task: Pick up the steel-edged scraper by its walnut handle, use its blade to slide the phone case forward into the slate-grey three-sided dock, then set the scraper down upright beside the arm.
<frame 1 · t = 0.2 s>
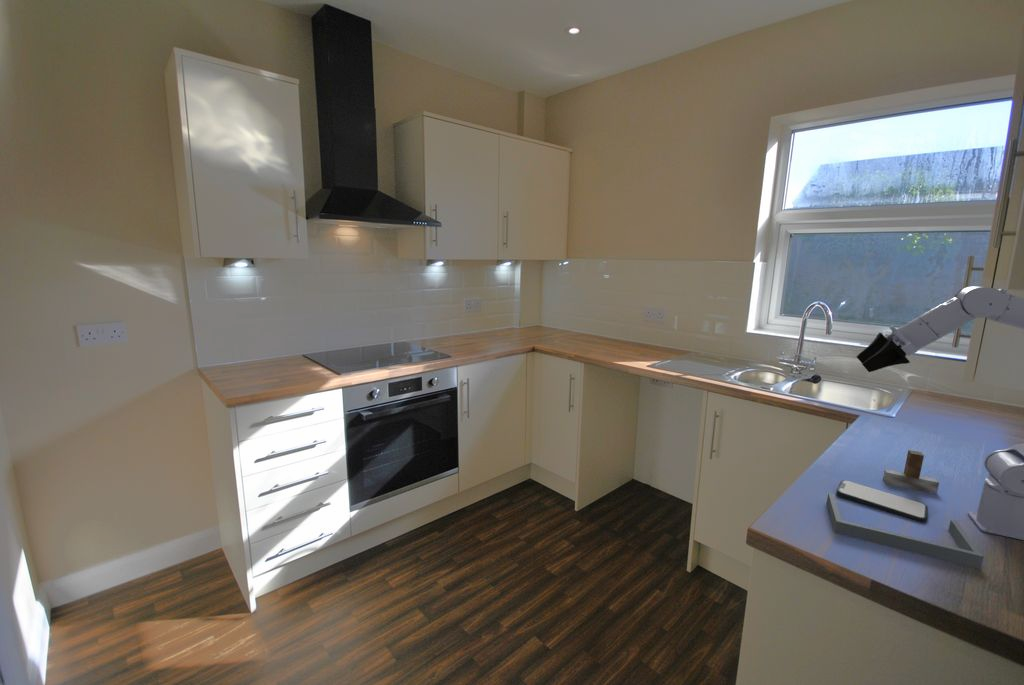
hand: (862, 364, 105), 31 cm above the worktop, tool tilted 45°, fingers open, 7 cm apart
dock: (894, 532, 95), on the worktop
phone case: (879, 504, 107), on the worktop
scraper: (908, 487, 114), on the worktop
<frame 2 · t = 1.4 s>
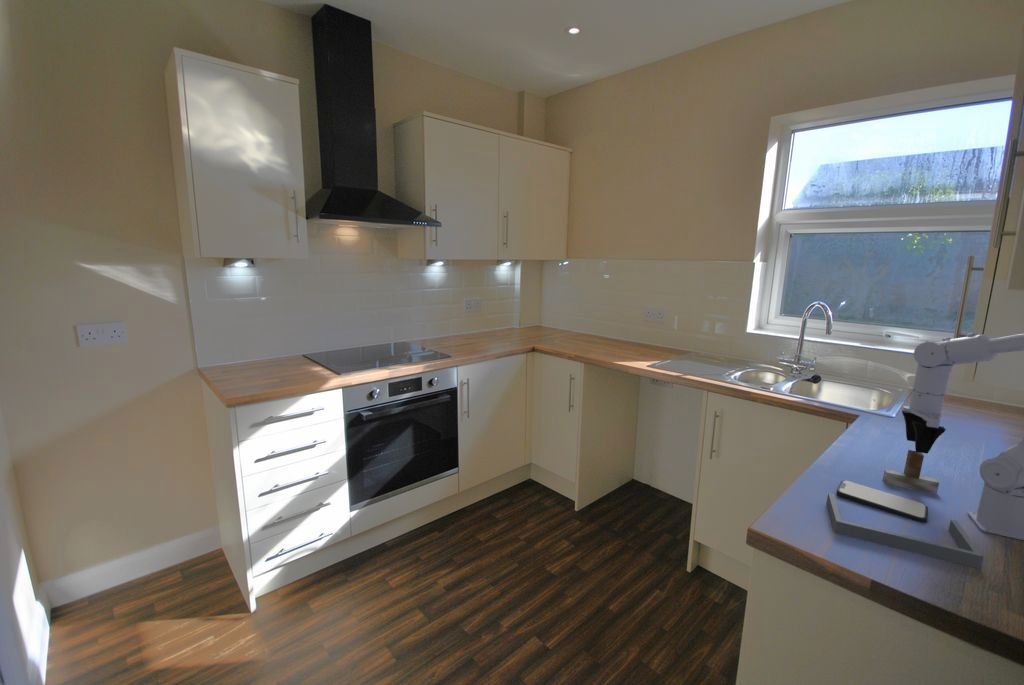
hand: (916, 446, 112), 10 cm above the worktop, tool pointing down, fingers open, 7 cm apart
nothing on the worktop moved.
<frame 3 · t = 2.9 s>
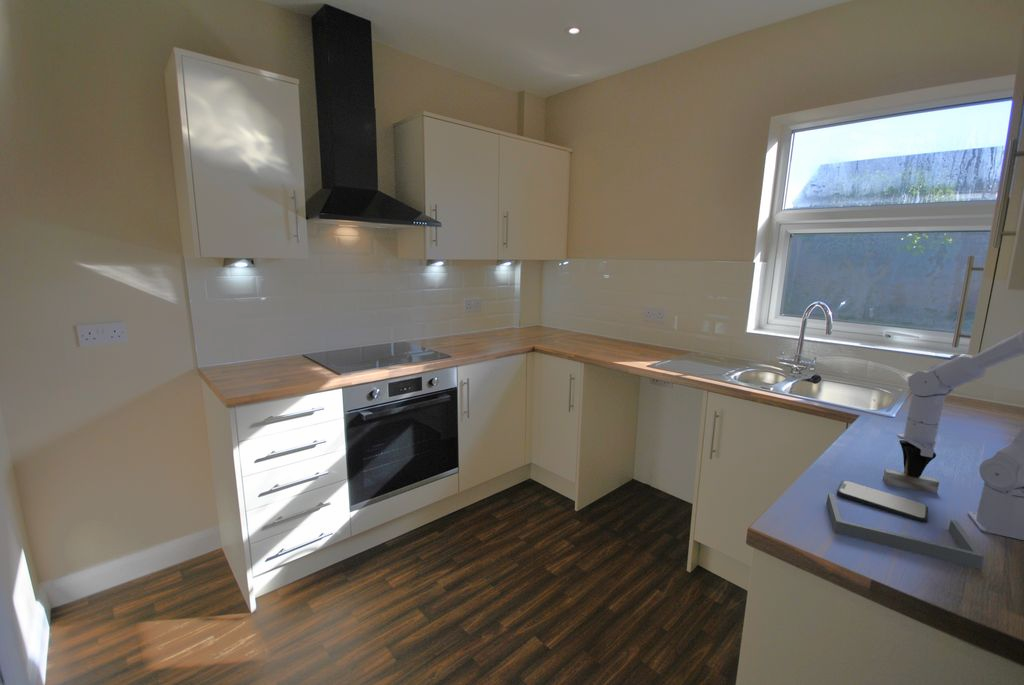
hand: (911, 473, 114), 3 cm above the worktop, tool pointing down, fingers closed on scraper, 2 cm apart
scraper: (908, 486, 114), on the worktop, touching gripper
everything else where it was.
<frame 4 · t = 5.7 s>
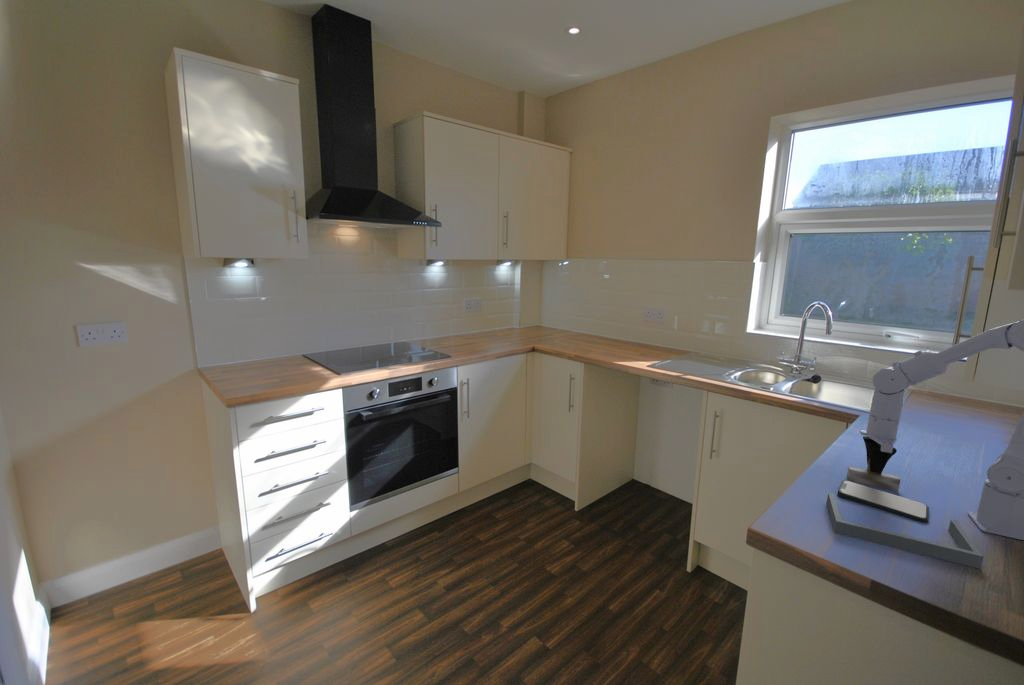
hand: (874, 469, 114), 4 cm above the worktop, tool pointing down, fingers closed on scraper, 2 cm apart
scraper: (871, 484, 115), on the worktop, touching gripper
everything else where it was.
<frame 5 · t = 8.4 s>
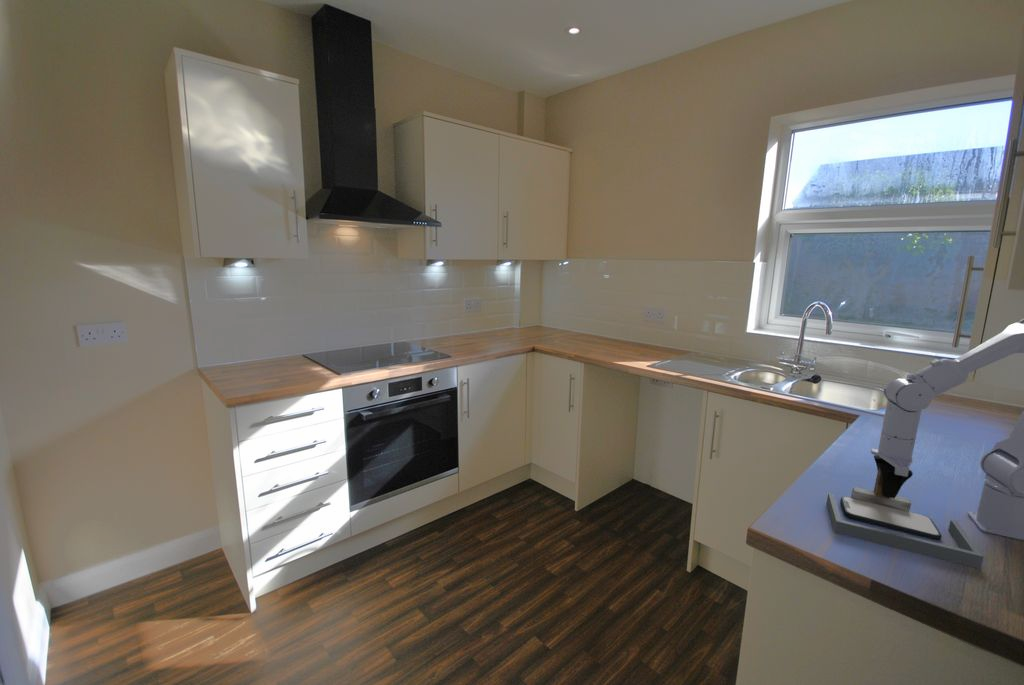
hand: (886, 493, 103), 4 cm above the worktop, tool pointing down, fingers closed on scraper, 3 cm apart
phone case: (886, 521, 100), on the worktop, touching scraper
scraper: (878, 506, 104), on the worktop, touching gripper, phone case
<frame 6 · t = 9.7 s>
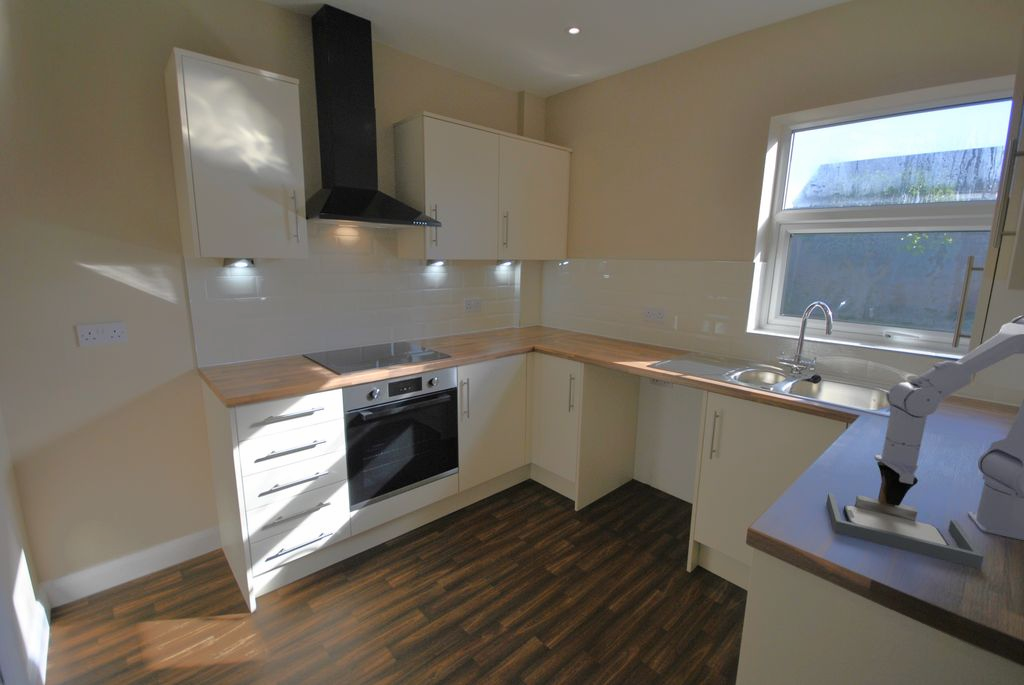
hand: (890, 500, 100), 4 cm above the worktop, tool pointing down, fingers closed on scraper, 2 cm apart
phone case: (891, 531, 96), on the worktop
scraper: (883, 515, 101), on the worktop, touching gripper
when the fingers open (4 cm above the worktop, at t = 14.2 s): scraper stays where it is, on the worktop.
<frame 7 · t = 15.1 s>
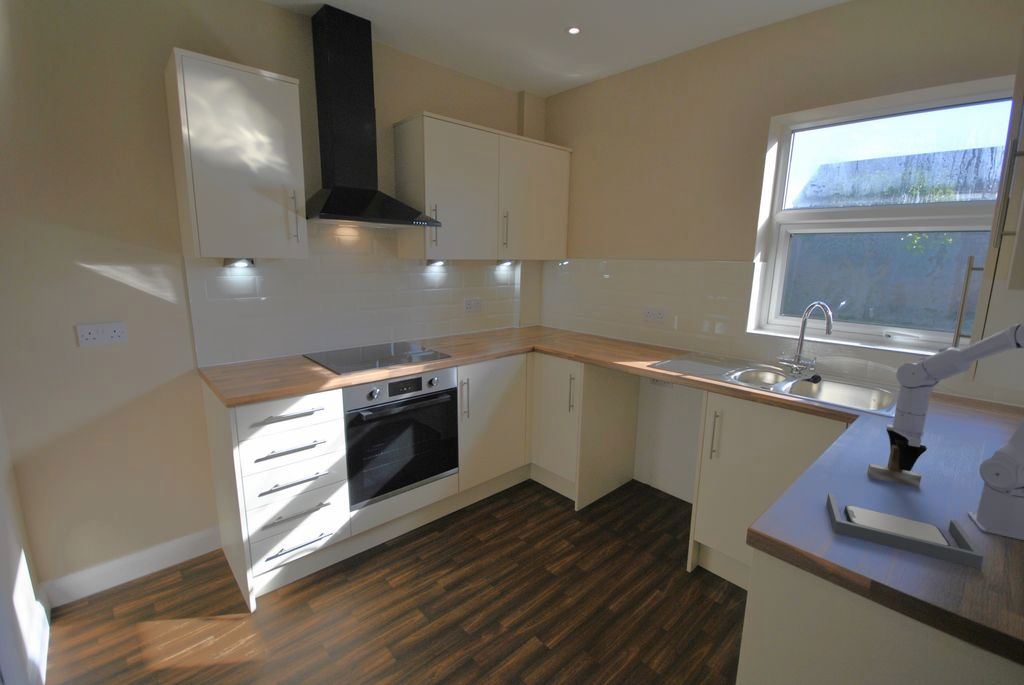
hand: (900, 463, 116), 5 cm above the worktop, tool pointing down, fingers open, 7 cm apart
scraper: (892, 480, 117), on the worktop
everything else where it was.
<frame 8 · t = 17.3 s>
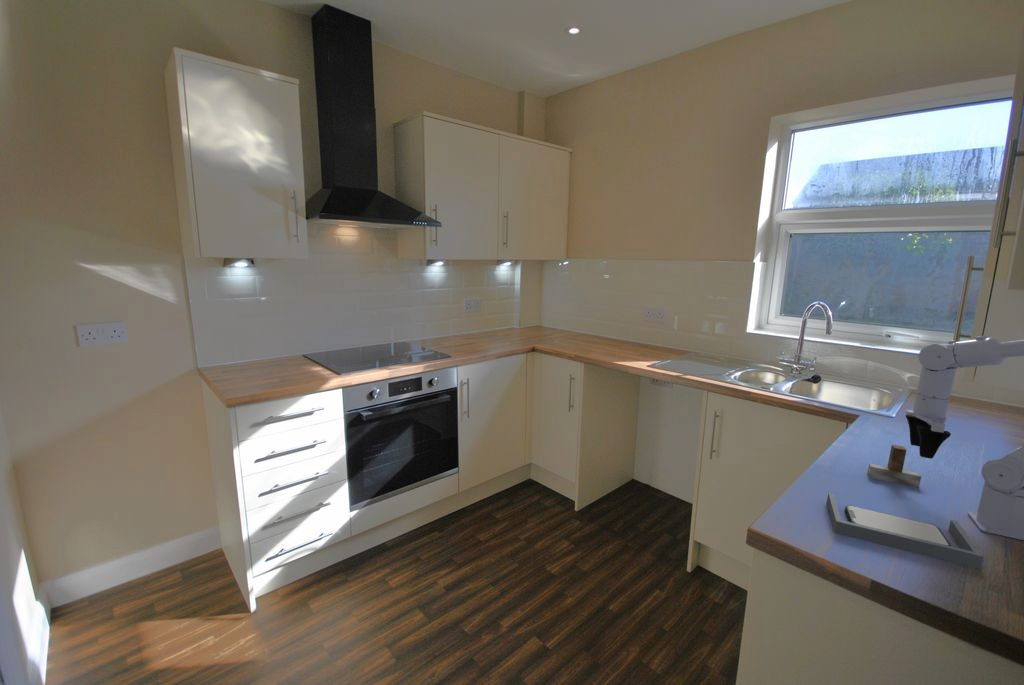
hand: (921, 451, 110), 10 cm above the worktop, tool pointing down, fingers open, 7 cm apart
nothing on the worktop moved.
at the end: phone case 1.2 cm off-centre on the dock, point -0.7 cm above the dock's base; the gripper is holding nothing; scraper tilted 0° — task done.
